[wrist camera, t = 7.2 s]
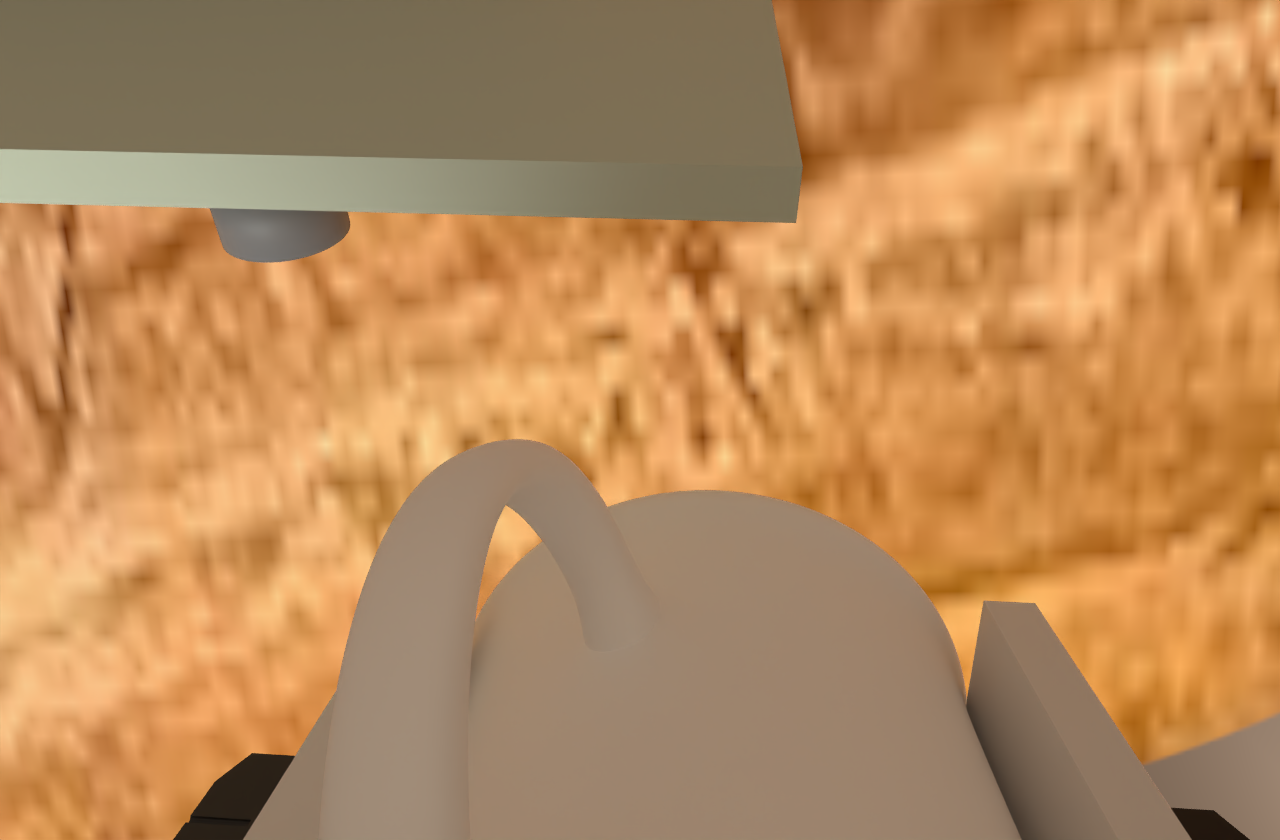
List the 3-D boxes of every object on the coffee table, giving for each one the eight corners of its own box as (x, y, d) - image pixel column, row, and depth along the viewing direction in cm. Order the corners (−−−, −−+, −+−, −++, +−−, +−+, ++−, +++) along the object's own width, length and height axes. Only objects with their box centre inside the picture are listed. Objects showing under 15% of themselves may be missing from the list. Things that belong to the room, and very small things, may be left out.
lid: (-310, -63, 20) (-240, 50, 22) (-947, 94, 12) (-765, 252, 14) (768, -53, 19) (758, 67, 21) (806, 129, 11) (787, 298, 13)
